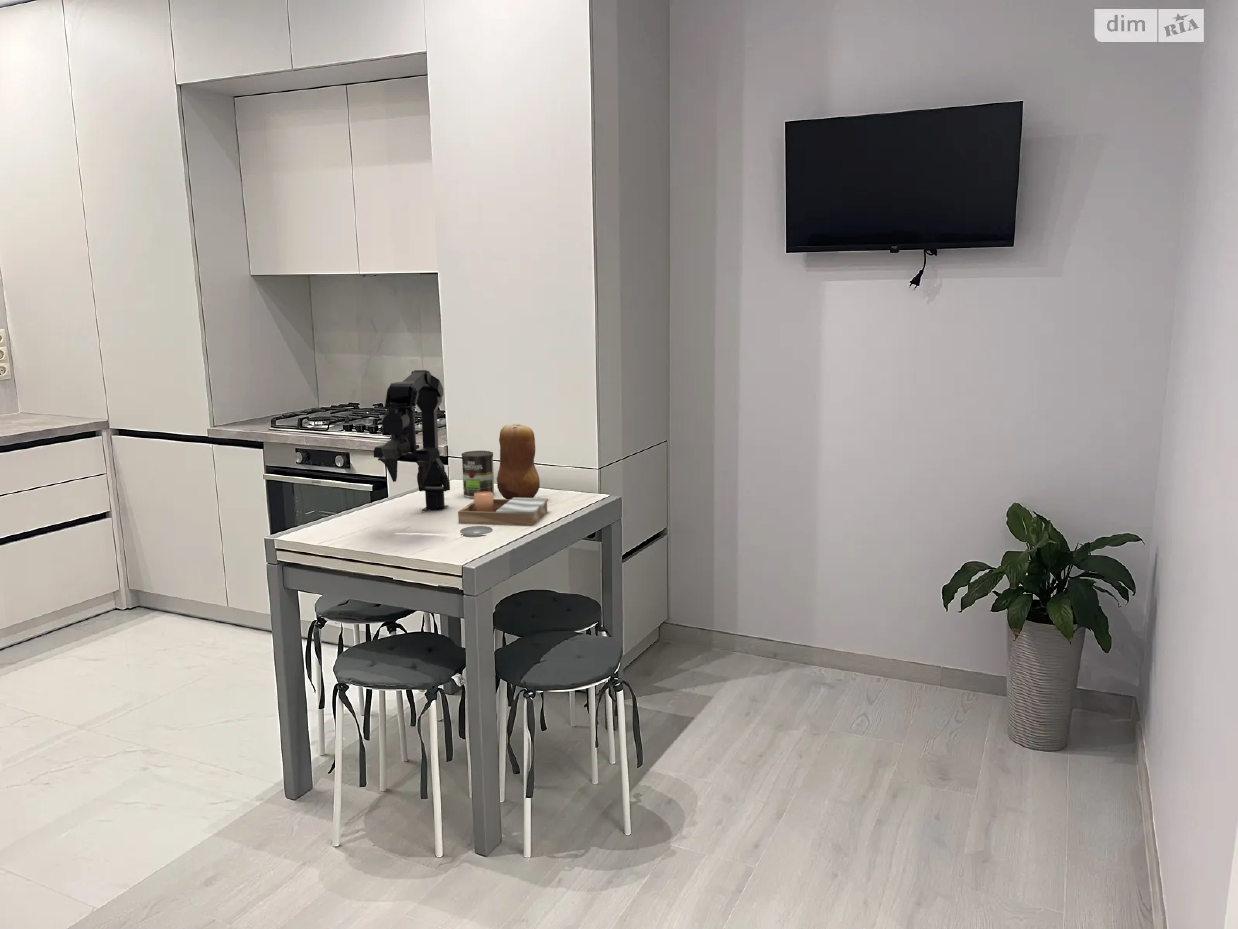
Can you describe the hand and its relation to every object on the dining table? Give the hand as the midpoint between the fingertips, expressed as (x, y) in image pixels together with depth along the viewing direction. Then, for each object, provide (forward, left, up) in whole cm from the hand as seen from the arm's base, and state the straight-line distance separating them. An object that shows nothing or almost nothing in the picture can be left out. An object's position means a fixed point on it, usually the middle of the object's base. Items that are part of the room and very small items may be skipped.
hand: (408, 482), depth 267 cm
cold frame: (-16, +22, -14) cm, 31 cm away
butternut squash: (-38, +20, -14) cm, 46 cm away
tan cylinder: (-16, +16, -13) cm, 27 cm away
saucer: (0, +19, -14) cm, 24 cm away
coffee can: (-46, +4, -14) cm, 49 cm away
